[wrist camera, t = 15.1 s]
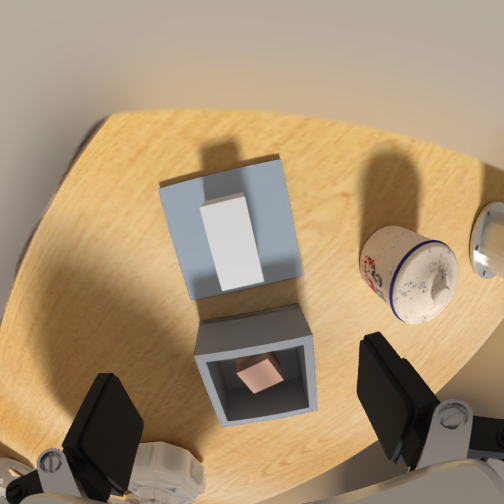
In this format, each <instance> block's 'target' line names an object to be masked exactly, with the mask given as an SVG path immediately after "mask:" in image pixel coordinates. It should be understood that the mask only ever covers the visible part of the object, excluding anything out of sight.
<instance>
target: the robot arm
mask: <svg viewBox="0 0 504 504" xmlns="http://www.w3.org/2000/svg"><path fill="white" fill-rule="evenodd" d="M470 259H471V264H472V267H473V269H474V271H475V273H476V274H477V275H479V276H480V277H482V278H486V279H487V278H492V277H494V276H495V275H499V276H500V277H502V278H504V203H502V202H497V201H494V202H491V203H489V204H488V205H486V206H485V207H484V208H483V210H482V211H481V212H480V214H479V216H478V218H477V220H476V222H475V225H474V228H473V231H472V236H471V241H470ZM357 395H358V398H359V400H360V402H361V404H362V406H363V408H364V410H365V412H366V414H367V416H368V418H369V420H370V422H371V424H372V427H373V429H374V431H375V433H376V435H377V437H378V439H379V441H380V443H381V445H382V447H383V449H384V452H385V454H386V456H387V458H388V459H389V460H394V462H395V464H396V465H398V464H400V463H403V462H405V463H406V465H407V467H409V469H408V472H407V473H405V474H403V475H400V476H397V477H395V478H392V479H389V480H386V481H383V482H381V483H378V484H375V485H372V486H369V487H366V488H362V489H360V490H356V491H352V492H349V493H345V494H342V495H338V496H334V497H331V498H327V499H323V500H318V501H314V502H309V503H304V504H504V419H495V418H487V417H479V416H473V413H472V410H471V408H470V407H469V405H468V404H466V403H465V402H463V401H460V400H447V401H444V402H442V403H440V401H439V400H438V399H437V397H436V396H435V395H434V393H433V392H432V391H431V389H430V388H429V387H428V385H427V384H426V383H425V382H424V380H423V379H422V378H421V376H420V375H419V374H418V373H417V371H416V370H415V369H414V368H413V366H412V365H411V364H410V363H409V361H408V360H407V359H405V358H402V359H401V358H400V356H399V355H398V354H397V353H396V351H395V350H394V349H393V347H392V346H391V345H390V344H389V342H388V341H387V340H386V339H385V337H384V336H383V335H382V334H381V333H380V332H375V333H371V334H368V335H365V336H364V340H361V341H360V348H359V366H358V380H357ZM143 427H144V423H143V420H142V418H141V416H140V415H139V413H138V411H137V410H136V408H135V406H134V405H133V403H132V401H131V400H130V398H129V396H128V394H127V393H126V391H125V389H124V387H123V385H122V383H121V382H120V380H119V378H118V377H117V376H115V375H114V374H113V373H99V374H98V375H97V377H96V379H95V381H94V382H93V384H92V386H91V388H90V390H89V392H88V394H87V395H86V397H85V399H84V401H83V403H82V405H81V407H80V409H79V411H78V413H77V415H76V417H75V419H74V421H73V423H72V425H71V427H70V429H69V431H68V433H67V435H66V437H65V439H64V441H63V443H62V447H63V448H64V449H63V451H61V450H59V449H56V448H51V449H47V450H45V451H44V452H42V453H41V454H40V456H39V457H38V459H37V469H36V470H34V471H32V472H30V473H28V474H26V475H24V476H21V477H19V478H17V479H15V480H13V481H11V482H10V483H9V484H8V485H7V487H6V491H5V495H6V497H4V496H2V497H0V504H112V502H111V500H110V498H109V497H110V494H111V495H116V496H122V497H123V495H124V491H126V490H127V489H128V486H129V482H130V478H131V474H132V470H133V466H134V462H135V458H136V454H137V450H138V446H139V442H140V439H141V435H142V431H143Z"/></svg>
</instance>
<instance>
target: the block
mask: <svg viewBox="0 0 504 504" xmlns="http://www.w3.org/2000/svg"><path fill="white" fill-rule="evenodd" d="M236 372H237V374H238V376H239V377H240V378H241V379H242V380H243V381H244V383H245V384H246V385H247V386H248V387H249V388H250V389H251V391H252V392H253V393H256V392H259V391H261V390H263V389H266V388H268V387H270V386H272V385H274V384H277V383H279V382H281V381H283V380H284V379H283V375H282V371H281V366H280V362H279V359H278V358H277V357H276V355H275V354H274V352H273V351H271V352H266V353H261V354H255V355H249V356H244V357H237V358H236Z"/></svg>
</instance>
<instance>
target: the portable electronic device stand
mask: <svg viewBox="0 0 504 504" xmlns="http://www.w3.org/2000/svg"><path fill="white" fill-rule="evenodd" d="M9 469H15V470H16V471H18V472H19V473H21V474H23V475H26V474H28V473H30V472H32V471H34V469H32V468H30V467H28V466H27V465H25V464H23V463H21V462H19V461H16V460H13V459H10V458H0V478H3V479H4V481H3V484H1V485H0V492H1V493H2V494H3V495H4V496H5V497H6V495H5V491H6V487H7V485H8V484H9V483H10V482H11V481H13V480H15V479H17V478H19V477H14V476H12V475H11V474H10V472H9V471H8V470H9Z"/></svg>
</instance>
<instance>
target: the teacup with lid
mask: <svg viewBox="0 0 504 504" xmlns="http://www.w3.org/2000/svg"><path fill="white" fill-rule="evenodd" d="M360 272H361V275H362V278H363V280H364V281H365V283H366V284H367V285H368V286H369V287H370V288H371V289H372V290H373V291H374V292H375V293H376V294H377V295H378V296H379V297H380V298H381V299H382V300H383V301H384V302H385V303H386V304H388V305H389V306H390V307H391V308H392V311H393V313H394V314H395V315H396V317H397V318H399V319H400V320H401V321H403V322H406V323H410V324H421V323H424V322H427V321H429V320H431V319H433V318H434V317H436V316H437V315H438V314H439V313H441V311H442V310H443V309H444V308H445V307H446V306H447V304H448V303H449V301H450V300H451V298H452V296H453V294H454V291H455V289H456V285H457V281H458V263H457V260H456V257H455V255H454V253H453V251H452V250H451V249H450V247H449V246H448V245H446V244H445V243H443V242H441V241H438V240H431V239H429V238H427V237H424V236H422V235H420V234H417V233H415V232H413V231H410V230H408V229H406V228H403V227H401V226H396V225H391V226H386V227H383V228H381V229H379V230H378V231H376V232H375V233H374V234H373V235H372V236H371V237H370V238H369V239H368V240H367V242H366V243H365V245H364V247H363V250H362V253H361V256H360Z"/></svg>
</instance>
